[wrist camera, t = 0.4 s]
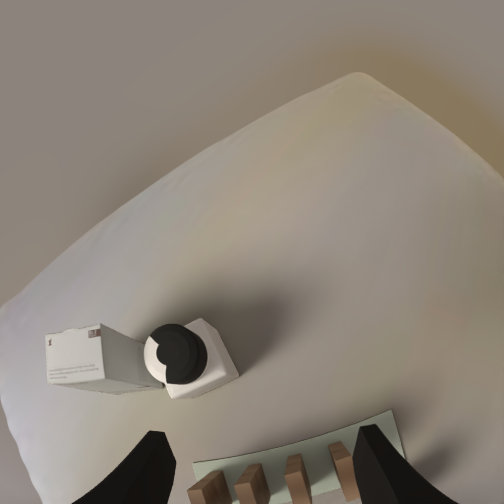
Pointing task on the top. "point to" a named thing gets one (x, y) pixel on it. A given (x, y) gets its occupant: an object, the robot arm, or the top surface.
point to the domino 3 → (297, 480)
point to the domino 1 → (210, 490)
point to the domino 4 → (344, 470)
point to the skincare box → (98, 361)
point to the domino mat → (312, 455)
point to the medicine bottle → (188, 359)
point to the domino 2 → (253, 486)
